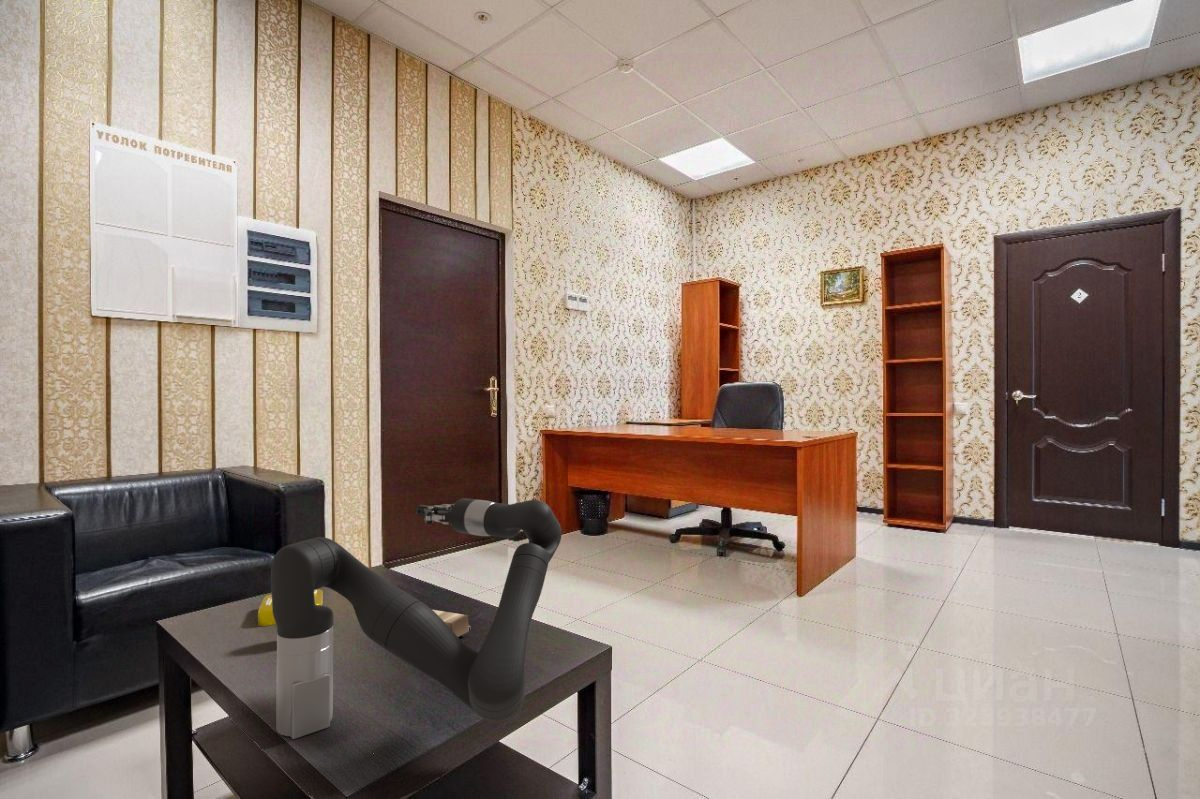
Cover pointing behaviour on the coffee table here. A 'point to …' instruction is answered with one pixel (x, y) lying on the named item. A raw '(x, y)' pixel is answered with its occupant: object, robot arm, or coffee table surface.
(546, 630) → the coffee table surface
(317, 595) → the element tile
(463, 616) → the birch block
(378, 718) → the coffee table surface
